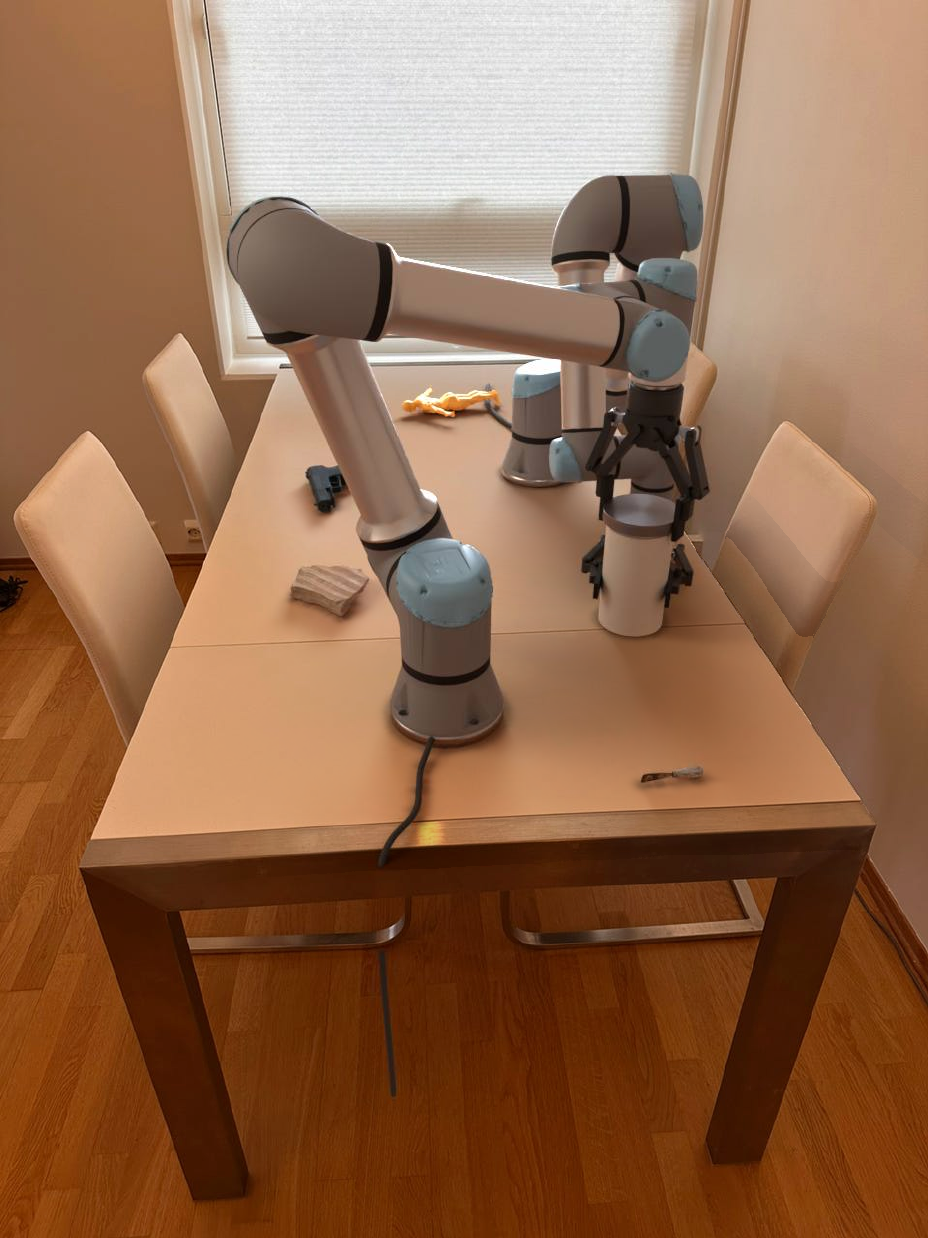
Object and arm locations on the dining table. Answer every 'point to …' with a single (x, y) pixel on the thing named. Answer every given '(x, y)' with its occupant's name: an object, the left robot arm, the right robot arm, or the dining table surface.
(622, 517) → the lid
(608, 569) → the jar
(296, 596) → the stone
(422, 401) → the human figure
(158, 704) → the dining table surface
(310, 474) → the handgun
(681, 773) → the putty knife
